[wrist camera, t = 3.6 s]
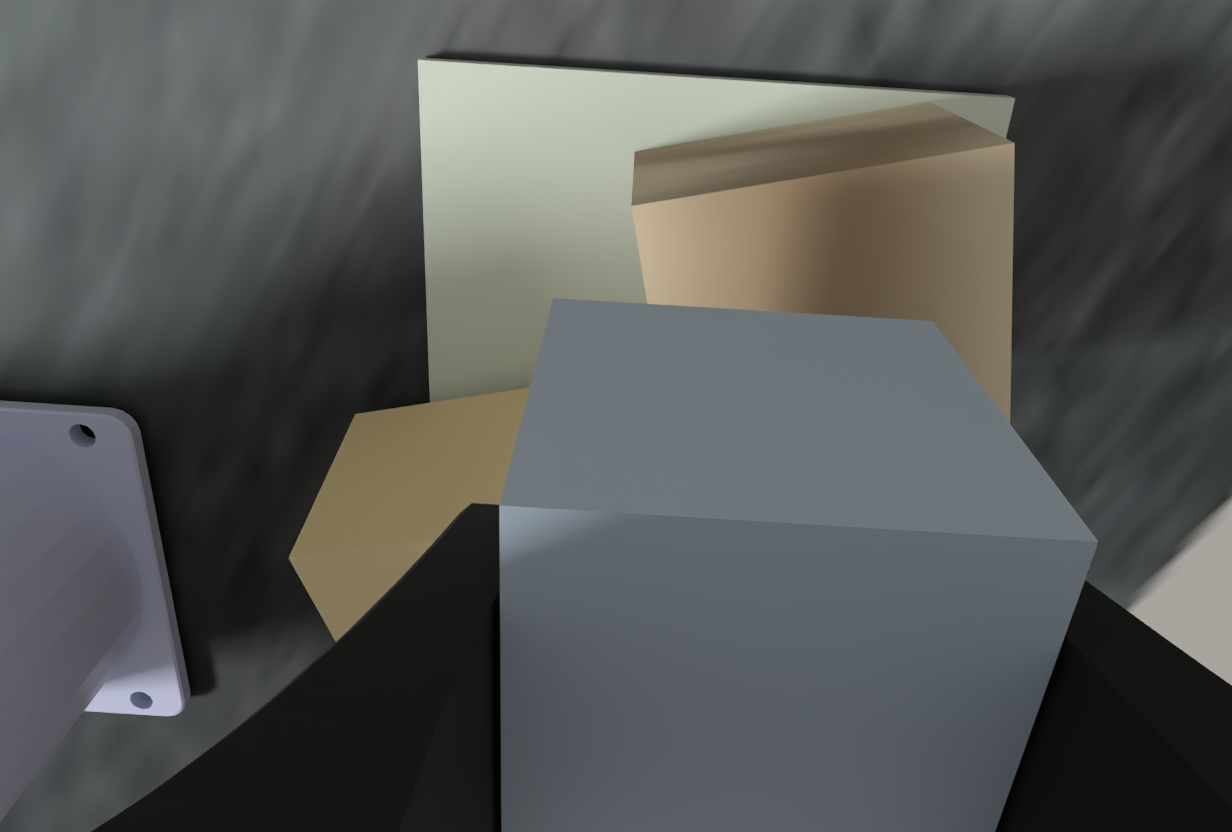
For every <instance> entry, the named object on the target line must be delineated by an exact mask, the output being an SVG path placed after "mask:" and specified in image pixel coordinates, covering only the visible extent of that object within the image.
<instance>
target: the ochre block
mask: <svg viewBox="0 0 1232 832" xmlns="http://www.w3.org/2000/svg"><path fill="white" fill-rule="evenodd" d="M529 389H530V387H529V388H523V389H516V390H510V391H503V392H497V393H490V394H484V395H477V396H471V397H464V398H457V399H451V400H444V401H438V402H431V403H425V404H418V405H412V406H405V407H399V408H392V409H385V410H379V411H372V412H366V413H359V414H355V416H354V418H353V420H352V422H351V424H350V426H349V429H348V431H347V433H346V435H345V437H344V439H343V441H342V444H341V446H340V448H339V450H338V452H337V454H336V457H335V459H334V461H333V463H332V465H331V467H330V470H329V472H328V474H327V476H326V478H325V480H324V482H323V485H322V487H321V489H320V491H319V493H318V495H317V498H316V500H315V502H314V504H313V506H312V508H311V511H310V513H309V515H308V517H307V519H306V521H305V523H304V526H303V528H302V530H301V532H300V534H299V536H298V539H297V541H296V543H295V545H294V547H293V549H292V552H291V554H290V556H289V560H290V562H291V563H292V565H293V567H294V569H295V571H296V572H297V574H298V576H299V578H300V579H301V581H302V583H303V585H304V586H305V588H306V590H307V592H308V594H309V595H310V597H311V599H312V601H313V602H314V604H315V606H316V608H317V610H318V611H319V613H320V615H321V617H322V618H323V620H324V622H325V624H326V626H327V627H328V629H329V631H330V633H331V634H332V636H333V638H334V640H335V642H337V641H338V640H339V639H340V638H341V637H342V636H343V635H344V634H345V633H346V632H347V631H348V630H349V629H350V628H351V627H352V626H353V625H354V624H355V623H356V622H357V621H358V620H359V619H360V618H361V617H362V616H363V615H364V614H365V613H366V612H367V611H368V610H369V609H370V608H371V607H372V606H373V605H374V604H375V603H376V602H377V601H378V600H379V599H380V598H381V597H382V596H383V595H384V594H385V593H386V592H387V591H388V590H389V589H390V588H391V587H392V586H393V585H394V584H395V583H396V582H397V581H398V580H399V579H400V578H401V577H402V576H403V575H404V574H405V573H406V572H407V571H408V570H409V569H410V568H411V567H412V565H413V564H414V563H415V562H416V561H417V560H418V559H419V558H420V557H421V556H422V555H423V554H424V553H425V552H426V550H427V549H428V548H429V547H430V546H431V545H432V544H433V543H434V542H435V540H436V539H437V538H438V537H439V536H440V535H441V534H442V533H443V531H444V530H445V529H446V528H447V527H448V526H449V525H450V524H451V522H452V521H453V520H454V519H455V518H456V517H457V516H458V514H459V513H460V512H461V511H463V510H464V509H465V508H466V507H468V506H469V505H470V504H471V503H479V504H496V505H500V501H501V497H502V493H503V489H504V485H505V482H506V478H507V474H508V470H509V466H510V462H511V459H512V455H513V451H514V447H515V443H516V439H517V436H518V432H519V428H520V424H521V420H522V416H523V413H524V409H525V405H526V401H527V397H528V393H529Z"/></svg>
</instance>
